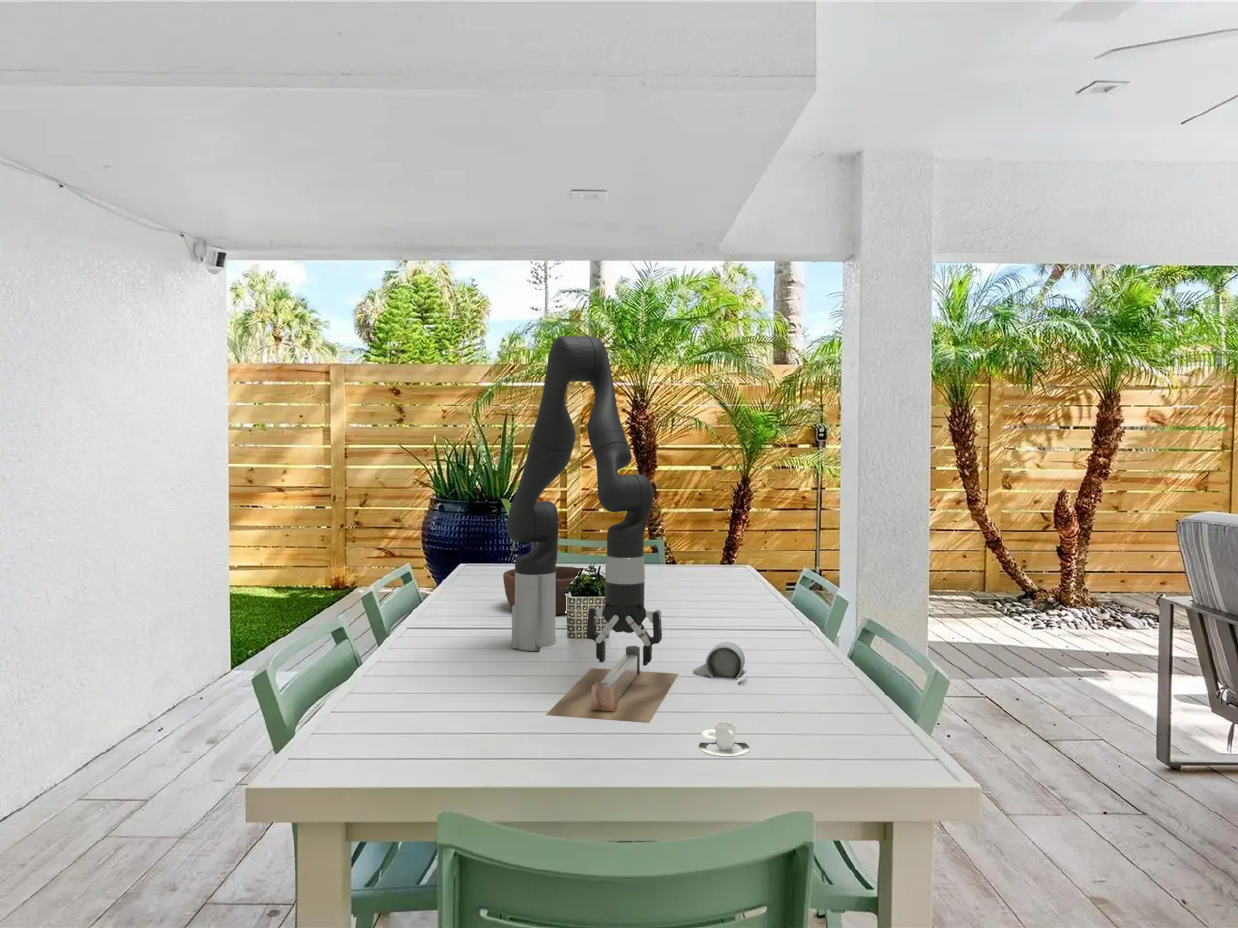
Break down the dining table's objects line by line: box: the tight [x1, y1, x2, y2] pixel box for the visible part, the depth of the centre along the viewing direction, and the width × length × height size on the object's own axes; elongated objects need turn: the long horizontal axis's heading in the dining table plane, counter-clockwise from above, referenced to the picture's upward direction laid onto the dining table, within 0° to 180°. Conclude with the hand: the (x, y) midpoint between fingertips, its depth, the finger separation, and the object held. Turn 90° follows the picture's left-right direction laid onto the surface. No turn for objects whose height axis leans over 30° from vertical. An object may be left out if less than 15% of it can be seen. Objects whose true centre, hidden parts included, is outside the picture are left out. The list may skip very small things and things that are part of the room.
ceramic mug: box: [692, 641, 746, 680], centre depth 187 cm, size 10×8×7 cm
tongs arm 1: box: [592, 654, 630, 711], centre depth 173 cm, size 24×2×4 cm, turn 168°
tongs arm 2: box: [603, 655, 637, 711], centre depth 173 cm, size 24×2×4 cm, turn 167°
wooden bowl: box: [502, 565, 590, 616], centre depth 258 cm, size 25×25×10 cm
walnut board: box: [545, 645, 679, 724], centre depth 173 cm, size 18×32×6 cm, turn 168°
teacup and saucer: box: [698, 721, 751, 757], centre depth 147 cm, size 9×8×4 cm
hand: (623, 662), depth 179 cm, fingers open, 8 cm apart
